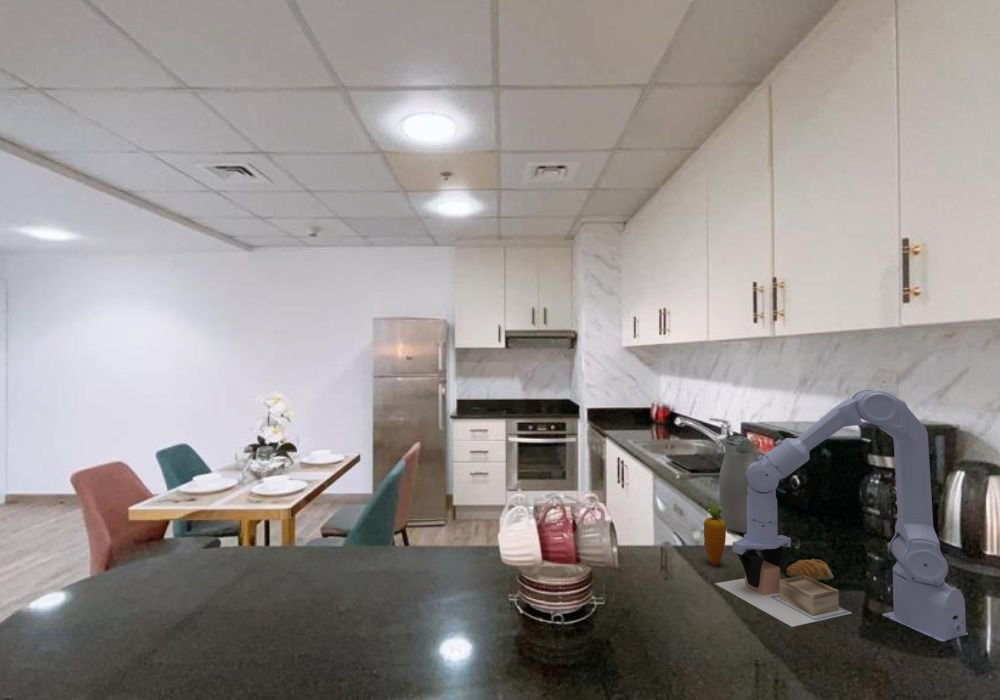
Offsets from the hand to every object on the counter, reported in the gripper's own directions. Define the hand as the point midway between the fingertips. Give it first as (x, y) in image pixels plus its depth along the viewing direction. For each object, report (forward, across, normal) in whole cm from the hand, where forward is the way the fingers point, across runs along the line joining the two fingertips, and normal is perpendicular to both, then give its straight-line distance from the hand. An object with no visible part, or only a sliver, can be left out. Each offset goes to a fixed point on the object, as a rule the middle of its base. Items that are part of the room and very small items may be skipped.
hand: (762, 583), depth 99 cm
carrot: (+2, 0, -13) cm, 13 cm away
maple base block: (+1, -3, +8) cm, 9 cm away
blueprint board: (+2, 0, +4) cm, 4 cm away
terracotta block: (+1, 0, 0) cm, 1 cm away
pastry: (+2, -17, -2) cm, 17 cm away
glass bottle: (+2, -27, -31) cm, 41 cm away
